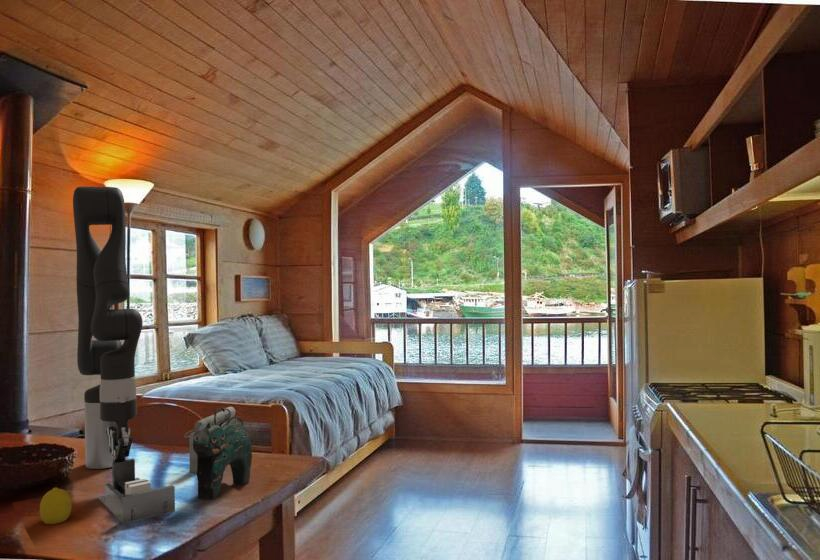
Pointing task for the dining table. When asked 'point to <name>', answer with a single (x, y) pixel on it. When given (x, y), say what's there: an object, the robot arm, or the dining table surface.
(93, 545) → the dining table surface
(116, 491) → the grey open box
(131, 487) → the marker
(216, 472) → the green animal figurine
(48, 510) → the lemon
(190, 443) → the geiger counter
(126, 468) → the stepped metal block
